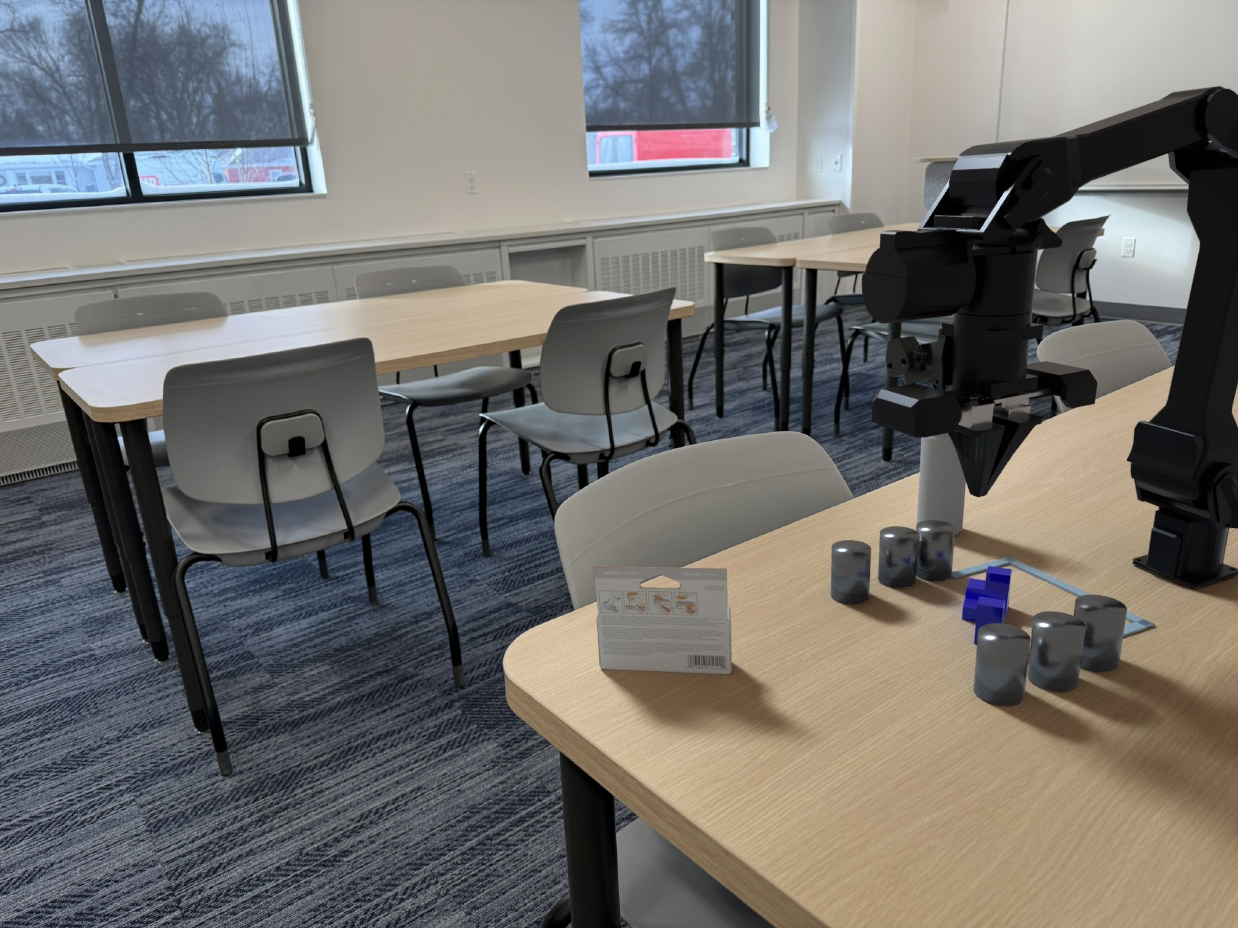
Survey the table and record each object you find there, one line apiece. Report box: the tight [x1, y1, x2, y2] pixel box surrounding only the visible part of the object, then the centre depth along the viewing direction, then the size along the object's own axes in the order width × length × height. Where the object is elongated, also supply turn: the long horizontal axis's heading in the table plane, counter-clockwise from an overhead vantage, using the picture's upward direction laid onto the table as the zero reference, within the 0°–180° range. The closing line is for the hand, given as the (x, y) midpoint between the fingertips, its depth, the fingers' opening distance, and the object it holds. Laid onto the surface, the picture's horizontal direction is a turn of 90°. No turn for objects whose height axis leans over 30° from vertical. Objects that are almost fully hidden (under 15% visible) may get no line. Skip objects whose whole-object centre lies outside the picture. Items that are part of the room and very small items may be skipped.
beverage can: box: [916, 433, 967, 536], centre depth 94 cm, size 5×5×12 cm
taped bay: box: [951, 556, 1155, 637], centre depth 79 cm, size 8×16×1 cm, turn 22°
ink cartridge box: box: [592, 566, 733, 675], centre depth 71 cm, size 2×11×10 cm, turn 80°
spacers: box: [830, 520, 1128, 707], centre depth 75 cm, size 14×23×5 cm, turn 22°
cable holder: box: [961, 566, 1013, 646], centre depth 75 cm, size 8×4×4 cm, turn 152°
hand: (977, 495), depth 73 cm, fingers closed
